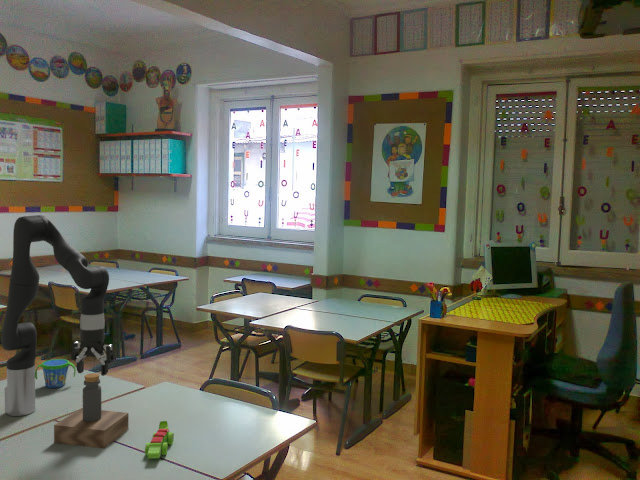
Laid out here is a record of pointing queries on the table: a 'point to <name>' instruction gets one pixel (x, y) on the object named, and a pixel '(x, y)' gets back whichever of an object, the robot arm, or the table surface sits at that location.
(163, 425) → the toy crocodile
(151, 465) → the table surface
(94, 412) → the bottle
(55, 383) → the snack cup
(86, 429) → the wooden box
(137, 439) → the table surface
